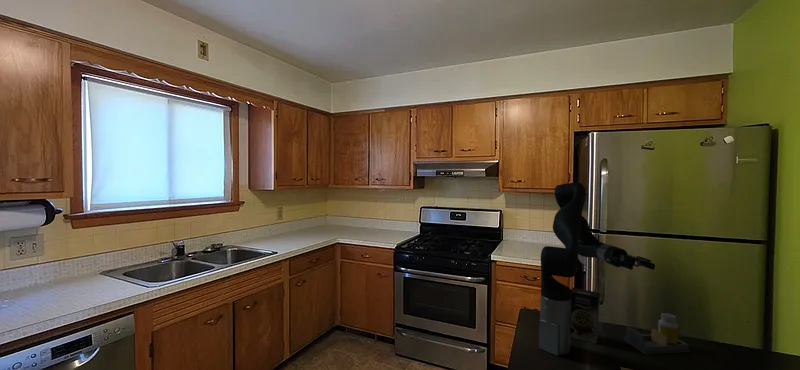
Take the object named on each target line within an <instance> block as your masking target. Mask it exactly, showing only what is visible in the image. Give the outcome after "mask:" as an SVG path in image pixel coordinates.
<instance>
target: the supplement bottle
mask: <svg viewBox="0 0 800 370" xmlns="http://www.w3.org/2000/svg"><path fill="white" fill-rule="evenodd" d="M657 321H658V322H657V331H658V332H660V333H662V334H664V335H666V336H667V337H668V345H676V344H678V340H679V324H678V323H677V316H676V315H674V314H672V313H667V312H662V313H661V314H660V319H659V320H657Z"/></svg>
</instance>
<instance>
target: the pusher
mask: <svg viewBox="0 0 800 370" xmlns="http://www.w3.org/2000/svg"><path fill="white" fill-rule="evenodd" d="M650 330H651V333H650V334H651V340H652V341H654V342H655V343H657V344H659V345H668V337H667V336H666V335H664V334H662V333H660V332H658V330H656V329H655V328H651V329H650Z"/></svg>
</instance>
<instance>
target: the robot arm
mask: <svg viewBox="0 0 800 370" xmlns="http://www.w3.org/2000/svg"><path fill="white" fill-rule="evenodd" d="M585 188H586V187H585V186H584V184H583V183H581V182H578V181H575V182H569V183H561V184H558V185H556V186H555V188H554V197H555V200H556V204H557V205H558V207H559V210H557V212H556V213H555V215H554V218H553V223H552V231H553V234H555V236H556V237H557V239H558V240H559V241H560V242H561V244H562V245H564V247H559V246H551V245H545V246H544V247H543V248H542V249H541V253H540V305H539V307H540V308H539V309H540V311H539V312H540V313H539V329H538V330H539V334H538V348H539V349H540V350H542V351H544V352H547V353H550V354H553V355H555V356H560V355H568V354H569V353H570V352H571V337H570V335H571V304H572V291H571V289H572V288H570V287H569V286H567V285H565V284H563V283H561V282H560V281H558V280H557V279H556V278H554V276H556V277H562V278H574V277H575V275H576V274H577V271H578V267H579V266H578V265H579V255H580V257H583V258H593V259H594V258H596V259H597V260H600V261H602V262H604V263H606V264H609V265H611V266H612V267H613V266H614V267H615V268H625V269H628V270H631V271H632V270H633V269H634V267H637V268H640V267H644V268H647V269H649V270H651V271H653V270H655V268H656V265H655V263H653V262H651V261H652V260H651V259H649V258H646V257H642V256H640V255H637V256H635V255H631V254H628V252H627V251H626V250H625V249H623V248H621V247H617V246H616V245H611V244H607V243H605V242H601V241H600V240H599V239H598V238H597V237H596V236H595V235H594V233H593V232H592V230H591V228H590V225H589V222H588V220H587V218H585V217H584V216H583V210H584V206H585V202H586V194H587V193H586V189H585Z"/></svg>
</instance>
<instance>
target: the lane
mask: <svg viewBox="0 0 800 370" xmlns="http://www.w3.org/2000/svg"><path fill="white" fill-rule="evenodd" d="M623 341H624V342H625V343H627V344H628V345H629V346H631V347H633V348H634V349H635V350H638V351H639V352H641V353H642V354H644V355H655V354H673V353H690V352H691V350H690V347H689V346H690V345H689V344H688V343H686V342H684V341H682V340H681V339H678V344H676V345H659V344H657V343H655V342H654V341H652V340H651V333H649V334H642V333H640V332H639V331H638V330H637V329H634V328H633V327H630V326H626V335H624V339H623Z"/></svg>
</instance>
